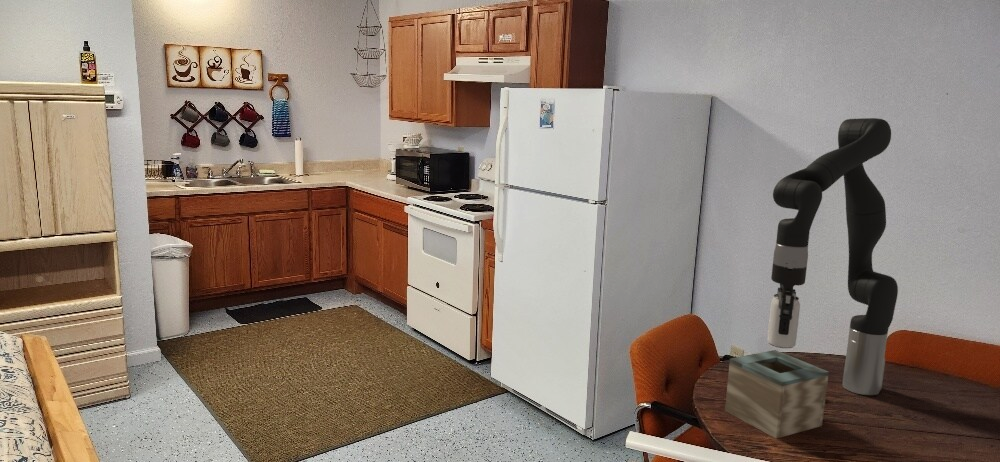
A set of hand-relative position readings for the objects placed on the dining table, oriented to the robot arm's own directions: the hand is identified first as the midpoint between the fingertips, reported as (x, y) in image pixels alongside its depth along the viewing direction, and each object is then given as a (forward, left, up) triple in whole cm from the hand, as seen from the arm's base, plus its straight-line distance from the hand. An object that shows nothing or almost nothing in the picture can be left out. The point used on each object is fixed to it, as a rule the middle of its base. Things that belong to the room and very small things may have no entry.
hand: (782, 329), depth 167 cm
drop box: (0, 0, -23) cm, 23 cm away
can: (0, 0, -4) cm, 4 cm away
